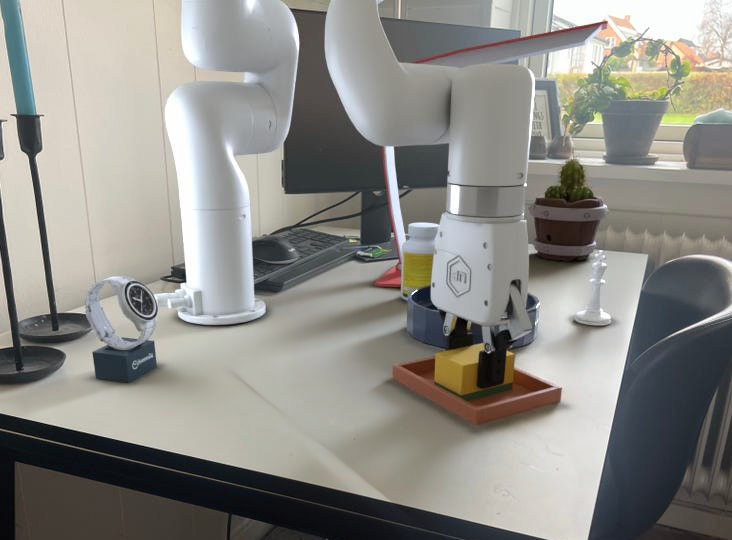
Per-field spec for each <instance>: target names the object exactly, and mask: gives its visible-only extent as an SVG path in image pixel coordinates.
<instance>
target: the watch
mask: <svg viewBox="0 0 732 540" xmlns="http://www.w3.org/2000/svg"><path fill="white" fill-rule="evenodd" d="M106 284H111V289H112V290H113V291H114V293H115V295H116V300H117V306H118V308H119V310H120V311H121V313H122V314H123V316H124V317H125V318H126V319H127V320H129V321H130V322H132V324H133V325H134V327H135V328H136V331H138V332H140V334H139V336H138V338H132V337H124V336H123V337H118V335H117V334H116V329H115V328H114V327H113V325H112V324H111V322H110V321H109V319H108V317H107V315H106V313H105V311H104V307H101V302H100V301H99V299H100V293H101V290H102V289H103V287H104V286H105V285H106ZM84 299H85V300H84V308H85V311H84V313H85V316H86V318H87V321H88V323H89V325H90V327H91V329H92V331H93V332H94V334H95V336H96V337H97V338H98V339H99V341H100V342H103V343H104V344H106V345H104V346H102V347H100V348H98V349H95V350H94V351H92V352H91V353H92V360H93V367H94V375H95V379H99V380H105V381H106V380H107V381H111V382H112V381H113V382H120V383H126V384H129V383H131V382H133V381H135V380H137V379H138V378H139V377H142V376H143V375H145V374H146V373H148V372H150V371H152V370H153V369H155V368H156V367H157V366H158V365H157V353H156V345H155V344H156V343H155V340H150V338H151V336H152V335H153V334H154V331H155V329H156V326H157V323H158V314H159V308H158V304H157V301H156V299H155V297H154V293H153V292H152V290H151V288H149V287H148V286H147V285H146V284H145V283H143V282H141V281H139V280H135V279H134V278H132V277H128V276H125V275H114V276H113V275H112V276H110V277H107V278H104V279H101V280H98V281H96V282H94V283H93V284H92V285H90V287H89V288H88V290H87V293H86V294H85V298H84Z"/></svg>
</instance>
